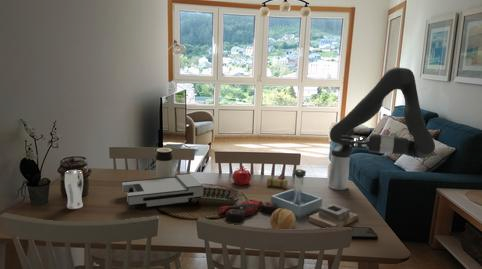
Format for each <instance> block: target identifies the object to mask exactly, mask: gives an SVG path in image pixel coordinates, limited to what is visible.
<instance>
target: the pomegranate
mask: <svg viewBox="0 0 482 269" xmlns="http://www.w3.org/2000/svg"><path fill="white" fill-rule="evenodd" d="M244 167H245V166H244V165H241V167H238V168H236V169H235V170H234V171H233V173H232V175H231V178H232V181H233V183H235V184H236V185H239V186H245V185H248V184H250V182H251V180H252V175H251V172H250V171H249V170H248V167H247V168H246V167H245V168H244Z"/></svg>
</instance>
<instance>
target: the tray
mask: <svg viewBox="0 0 482 269" xmlns="http://www.w3.org/2000/svg"><path fill="white" fill-rule="evenodd" d="M293 194H294V188H292V189H288V190H285V191H283V192H279V193H276V194H273V195H271V196H270V202H271V203H274V204H275V205H277V207H278V208H283V209H288V210H290V211H292V212H293V213H294V215H295V218H297V219H301V218H304V217H306V216H308V215H309V216H310V215H311V214H314V213H317V212H319V208H320V207H323V198H322V197H320V196H317V195H313V194H310V193H308V192H304V191H302V197H301V205H300V206H299V205H297V204H294V203H293Z"/></svg>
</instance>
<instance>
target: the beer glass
mask: <svg viewBox="0 0 482 269" xmlns="http://www.w3.org/2000/svg"><path fill="white" fill-rule="evenodd" d="M64 188H65V192H66V195H67V204H66V208H67V209H68V210H69V209H70V210H78V209H81V208H83V205H84V204H83V200H82V196H83V195H82V194H83V188H84V175H83V170H81V169H80V170H79V169H70V170H67V171H65V172H64Z"/></svg>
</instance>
